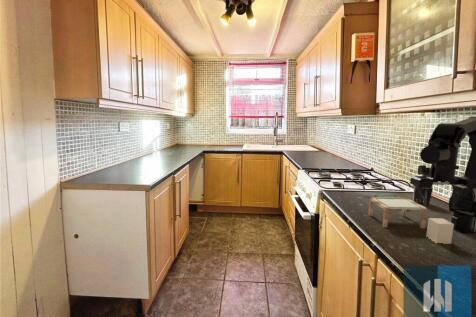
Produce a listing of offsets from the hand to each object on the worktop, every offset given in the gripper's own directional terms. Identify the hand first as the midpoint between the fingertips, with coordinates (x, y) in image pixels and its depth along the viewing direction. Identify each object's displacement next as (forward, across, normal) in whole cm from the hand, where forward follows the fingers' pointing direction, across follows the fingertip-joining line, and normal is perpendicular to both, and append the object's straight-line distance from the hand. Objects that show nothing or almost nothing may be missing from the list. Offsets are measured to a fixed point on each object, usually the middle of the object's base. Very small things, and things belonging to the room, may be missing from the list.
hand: (439, 206), depth 93 cm
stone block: (+12, 0, +1) cm, 12 cm away
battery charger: (+13, -20, -40) cm, 47 cm away
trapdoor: (+5, +6, -15) cm, 17 cm away
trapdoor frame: (+12, +6, -15) cm, 20 cm away
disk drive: (+13, -4, -39) cm, 41 cm away
